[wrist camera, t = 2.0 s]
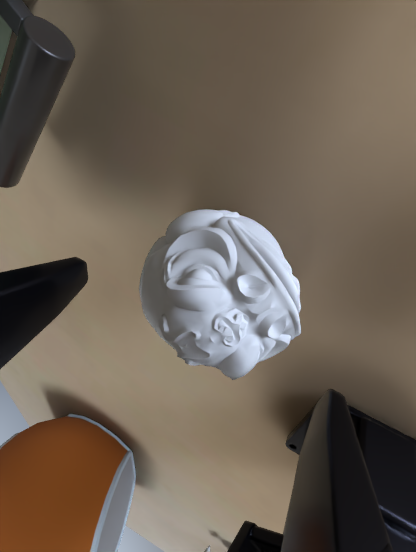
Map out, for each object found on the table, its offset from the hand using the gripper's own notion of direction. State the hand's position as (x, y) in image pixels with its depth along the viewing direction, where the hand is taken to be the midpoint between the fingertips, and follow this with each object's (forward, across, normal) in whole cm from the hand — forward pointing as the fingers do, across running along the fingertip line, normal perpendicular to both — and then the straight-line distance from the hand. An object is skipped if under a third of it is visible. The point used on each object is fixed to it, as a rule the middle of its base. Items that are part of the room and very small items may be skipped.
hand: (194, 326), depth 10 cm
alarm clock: (+6, +10, +38) cm, 40 cm away
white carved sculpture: (+6, 0, 0) cm, 6 cm away
